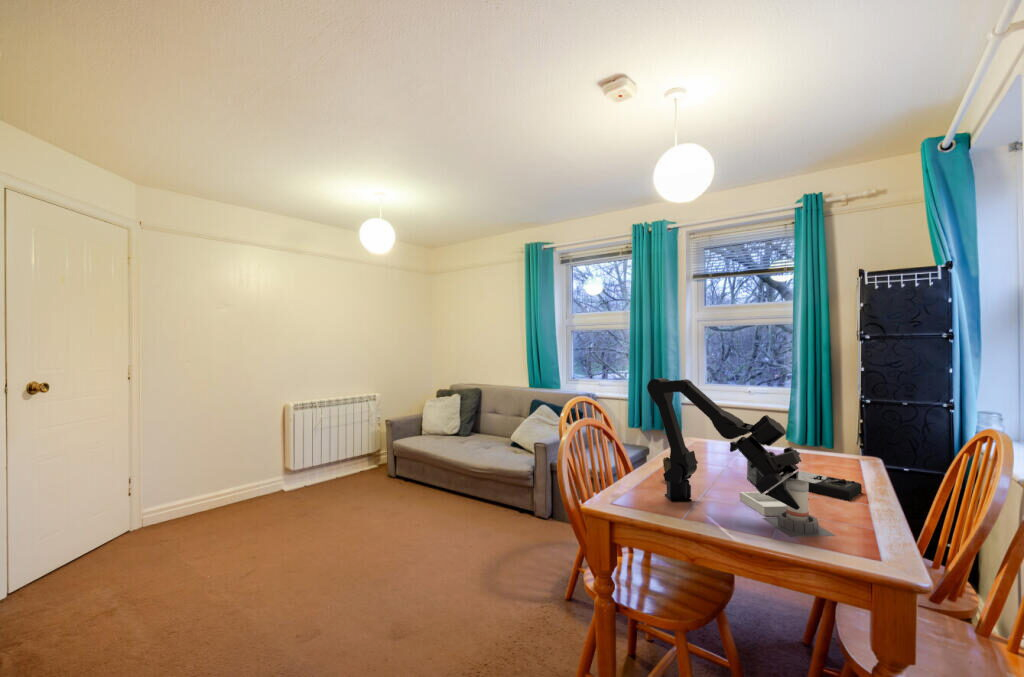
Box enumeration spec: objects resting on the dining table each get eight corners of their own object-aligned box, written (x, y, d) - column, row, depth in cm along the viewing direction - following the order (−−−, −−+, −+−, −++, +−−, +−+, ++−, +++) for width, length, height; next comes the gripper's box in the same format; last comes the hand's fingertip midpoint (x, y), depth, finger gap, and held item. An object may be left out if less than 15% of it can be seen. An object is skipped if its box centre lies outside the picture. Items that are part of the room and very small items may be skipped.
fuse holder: (790, 540, 112) (790, 526, 112) (762, 521, 124) (761, 509, 124) (836, 539, 113) (836, 525, 113) (803, 520, 125) (803, 508, 125)
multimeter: (849, 502, 140) (849, 487, 140) (782, 487, 155) (782, 472, 155) (862, 494, 148) (862, 479, 148) (798, 480, 163) (797, 466, 163)
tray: (764, 519, 126) (764, 506, 126) (739, 503, 138) (739, 492, 138) (807, 518, 126) (807, 506, 126) (778, 502, 139) (778, 491, 139)
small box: (776, 489, 152) (776, 458, 152) (756, 487, 153) (755, 457, 153) (765, 479, 162) (765, 451, 162) (746, 478, 164) (746, 450, 164)
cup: (682, 485, 156) (682, 463, 156) (660, 482, 159) (660, 460, 160) (686, 480, 162) (686, 458, 162) (665, 477, 166) (665, 455, 166)
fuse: (794, 530, 116) (794, 484, 116) (781, 522, 121) (781, 478, 121) (813, 530, 116) (813, 484, 116) (800, 522, 121) (799, 478, 121)
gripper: (768, 443, 115) (819, 497, 107) (789, 433, 128) (836, 480, 120) (736, 468, 121) (783, 520, 113) (760, 456, 134) (803, 502, 125)
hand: (803, 504), depth 117 cm, fingers open, 8 cm apart
